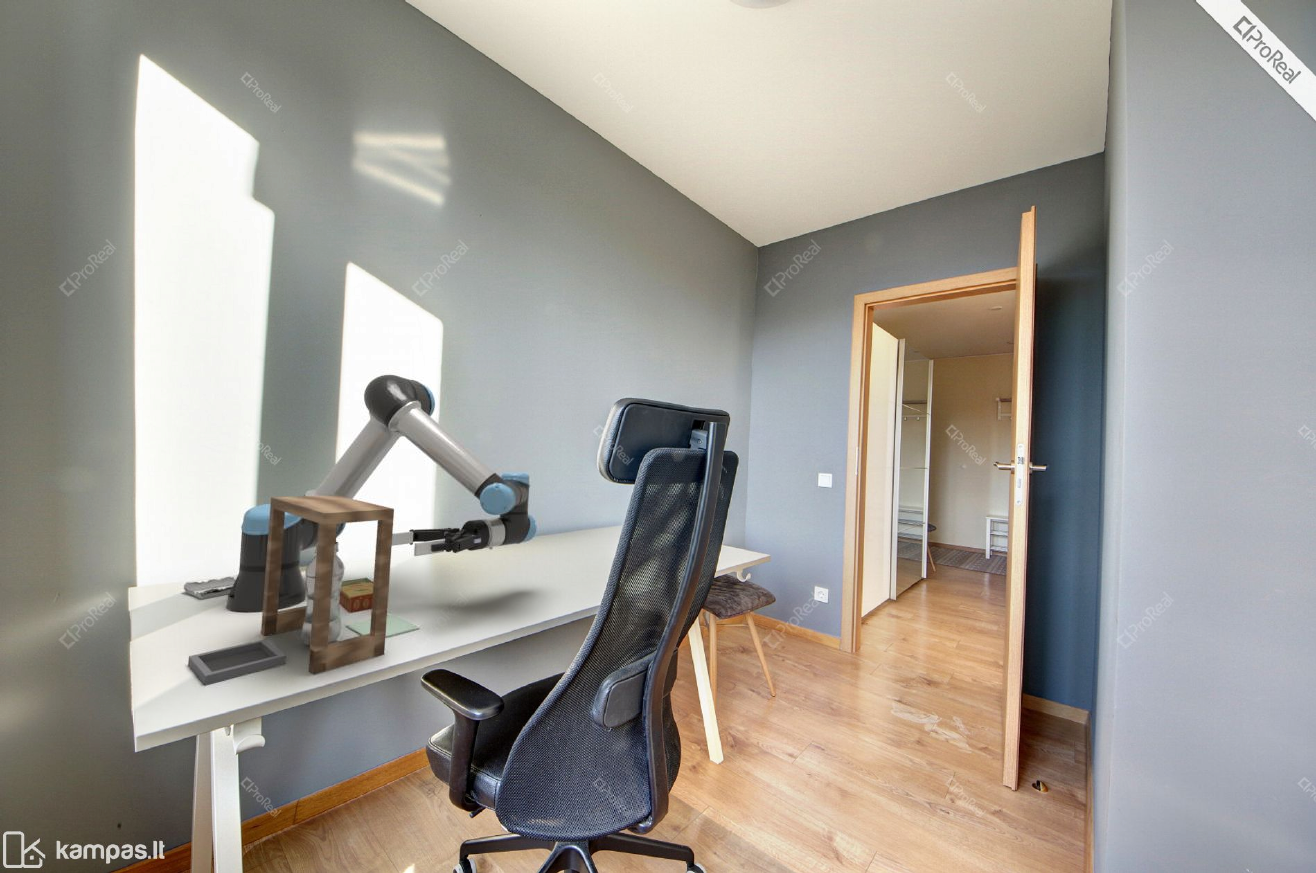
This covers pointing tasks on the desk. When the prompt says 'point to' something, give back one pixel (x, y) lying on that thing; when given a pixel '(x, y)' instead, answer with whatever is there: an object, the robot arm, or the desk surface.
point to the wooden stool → (328, 577)
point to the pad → (393, 626)
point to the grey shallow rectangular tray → (235, 661)
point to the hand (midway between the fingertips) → (399, 544)
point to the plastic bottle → (334, 607)
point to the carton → (356, 595)
